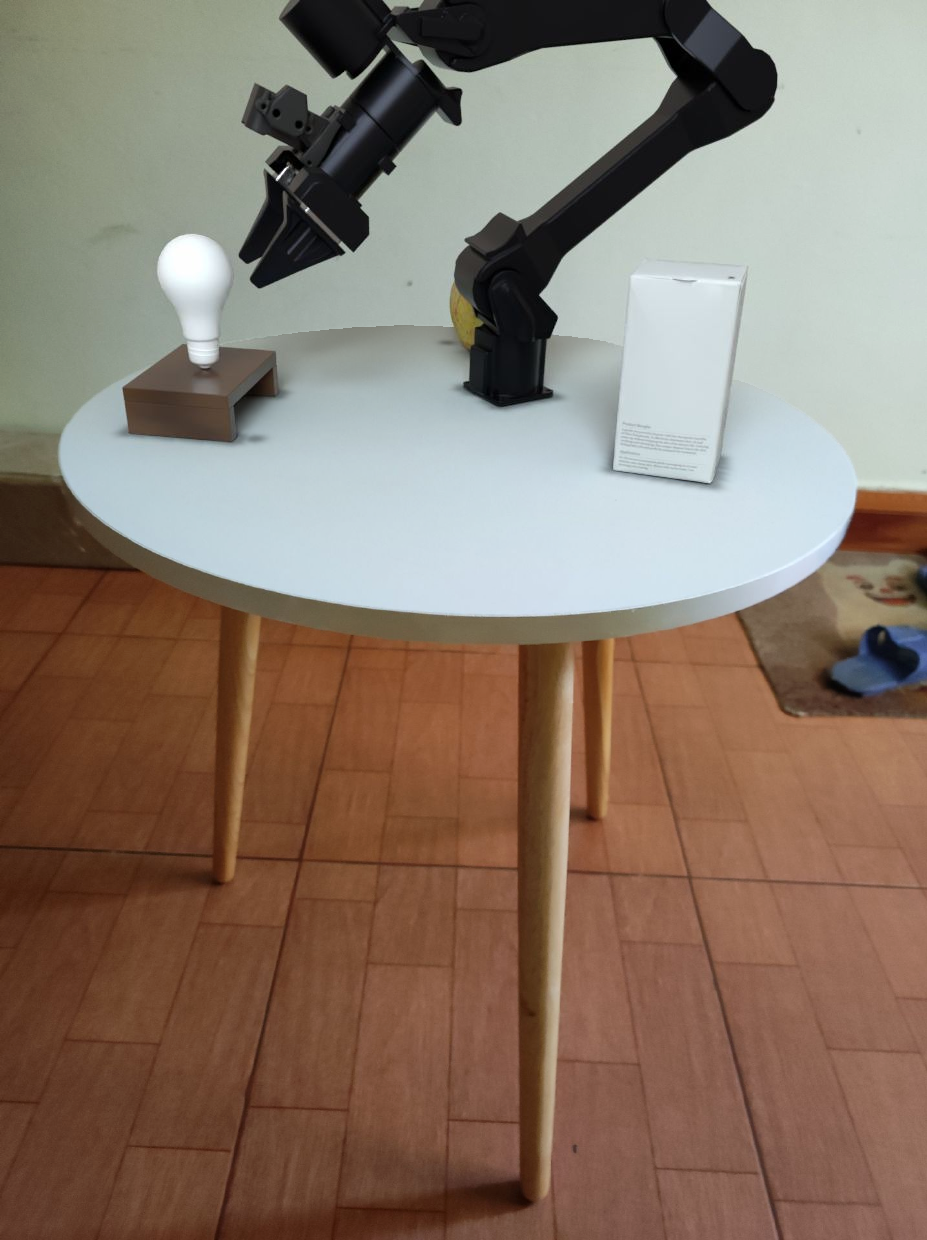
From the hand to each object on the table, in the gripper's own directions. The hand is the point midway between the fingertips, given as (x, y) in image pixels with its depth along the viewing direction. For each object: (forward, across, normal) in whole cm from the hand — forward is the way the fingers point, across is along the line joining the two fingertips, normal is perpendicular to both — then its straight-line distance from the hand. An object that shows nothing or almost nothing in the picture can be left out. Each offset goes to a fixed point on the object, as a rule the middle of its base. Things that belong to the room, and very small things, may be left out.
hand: (247, 271), depth 83 cm
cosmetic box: (-13, +20, +30) cm, 38 cm away
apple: (-10, -13, +27) cm, 32 cm away
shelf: (+12, 0, +5) cm, 13 cm away
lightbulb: (+9, 0, +3) cm, 9 cm away
